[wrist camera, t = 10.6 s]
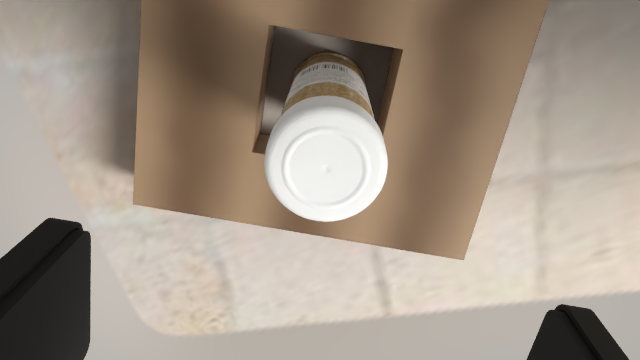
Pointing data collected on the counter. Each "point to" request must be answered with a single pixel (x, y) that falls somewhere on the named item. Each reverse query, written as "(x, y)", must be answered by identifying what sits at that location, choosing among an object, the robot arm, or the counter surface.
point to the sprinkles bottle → (326, 143)
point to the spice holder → (394, 121)
